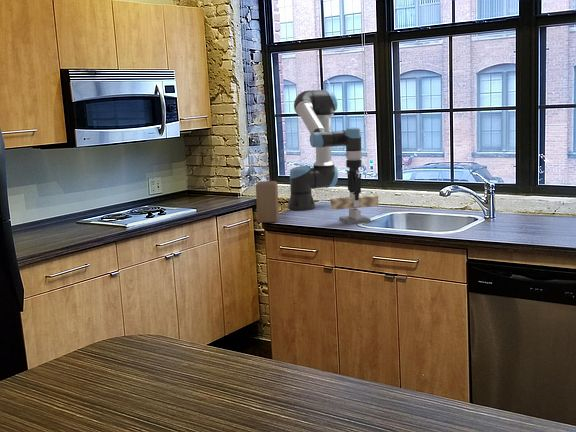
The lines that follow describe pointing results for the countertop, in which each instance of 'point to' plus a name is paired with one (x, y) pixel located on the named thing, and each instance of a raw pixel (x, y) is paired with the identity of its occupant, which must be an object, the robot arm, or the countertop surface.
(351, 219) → the fulcrum
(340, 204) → the beech bar
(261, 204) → the wooden block
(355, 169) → the robot arm
